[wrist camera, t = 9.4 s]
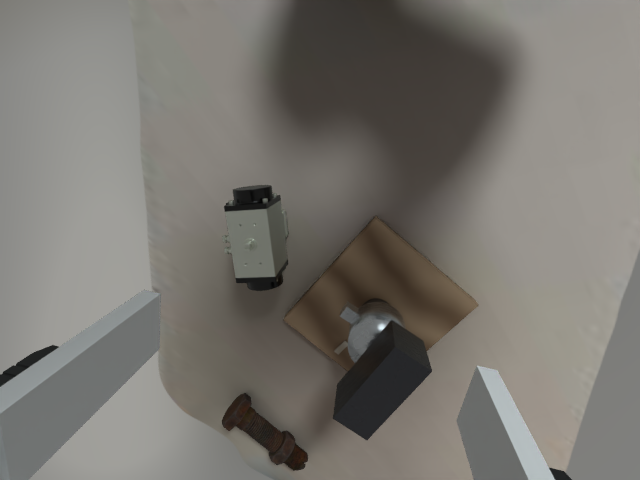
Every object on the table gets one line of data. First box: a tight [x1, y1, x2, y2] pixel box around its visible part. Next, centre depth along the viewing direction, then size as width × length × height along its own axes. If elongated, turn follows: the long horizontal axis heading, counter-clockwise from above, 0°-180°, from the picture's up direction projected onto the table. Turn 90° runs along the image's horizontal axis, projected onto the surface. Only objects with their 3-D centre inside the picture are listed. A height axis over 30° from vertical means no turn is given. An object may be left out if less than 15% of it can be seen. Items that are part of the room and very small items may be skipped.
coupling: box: [333, 301, 432, 440], centre depth 38 cm, size 10×10×13 cm
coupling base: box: [284, 216, 478, 371], centre depth 47 cm, size 20×18×5 cm
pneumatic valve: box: [222, 185, 289, 291], centre depth 42 cm, size 6×12×12 cm, turn 5°
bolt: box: [222, 393, 308, 471], centre depth 56 cm, size 6×5×15 cm
